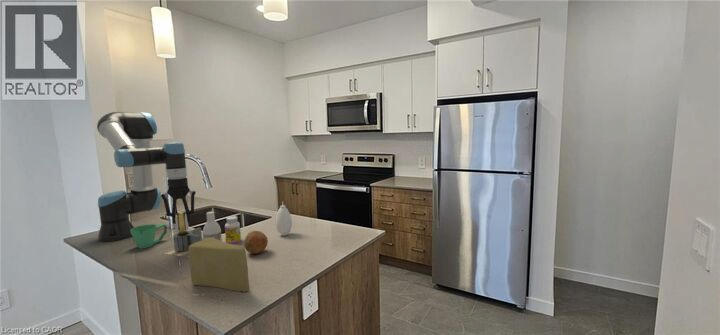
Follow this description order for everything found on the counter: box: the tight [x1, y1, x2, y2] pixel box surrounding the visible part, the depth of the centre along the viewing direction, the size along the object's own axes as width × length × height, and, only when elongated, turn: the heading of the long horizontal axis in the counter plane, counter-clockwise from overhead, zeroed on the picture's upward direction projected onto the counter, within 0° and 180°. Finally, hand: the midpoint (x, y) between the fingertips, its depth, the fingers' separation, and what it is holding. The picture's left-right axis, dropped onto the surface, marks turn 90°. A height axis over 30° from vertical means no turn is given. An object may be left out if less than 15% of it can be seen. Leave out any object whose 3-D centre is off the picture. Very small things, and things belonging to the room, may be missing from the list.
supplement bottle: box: [224, 215, 242, 245], centre depth 145 cm, size 7×7×13 cm
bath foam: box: [202, 211, 223, 242], centre depth 128 cm, size 7×7×20 cm
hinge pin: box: [176, 211, 188, 236], centre depth 136 cm, size 3×3×13 cm
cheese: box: [188, 237, 250, 293], centre depth 106 cm, size 22×10×15 cm, turn 64°
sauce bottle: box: [275, 200, 293, 237], centre depth 155 cm, size 8×8×18 cm
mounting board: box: [162, 248, 189, 258], centre depth 138 cm, size 15×16×1 cm
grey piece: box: [172, 227, 203, 252], centre depth 139 cm, size 13×13×7 cm
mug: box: [130, 223, 168, 249], centre depth 144 cm, size 15×10×10 cm
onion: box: [243, 230, 269, 255], centre depth 133 cm, size 10×10×10 cm
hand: (182, 229), depth 136 cm, fingers closed on hinge pin, 3 cm apart
